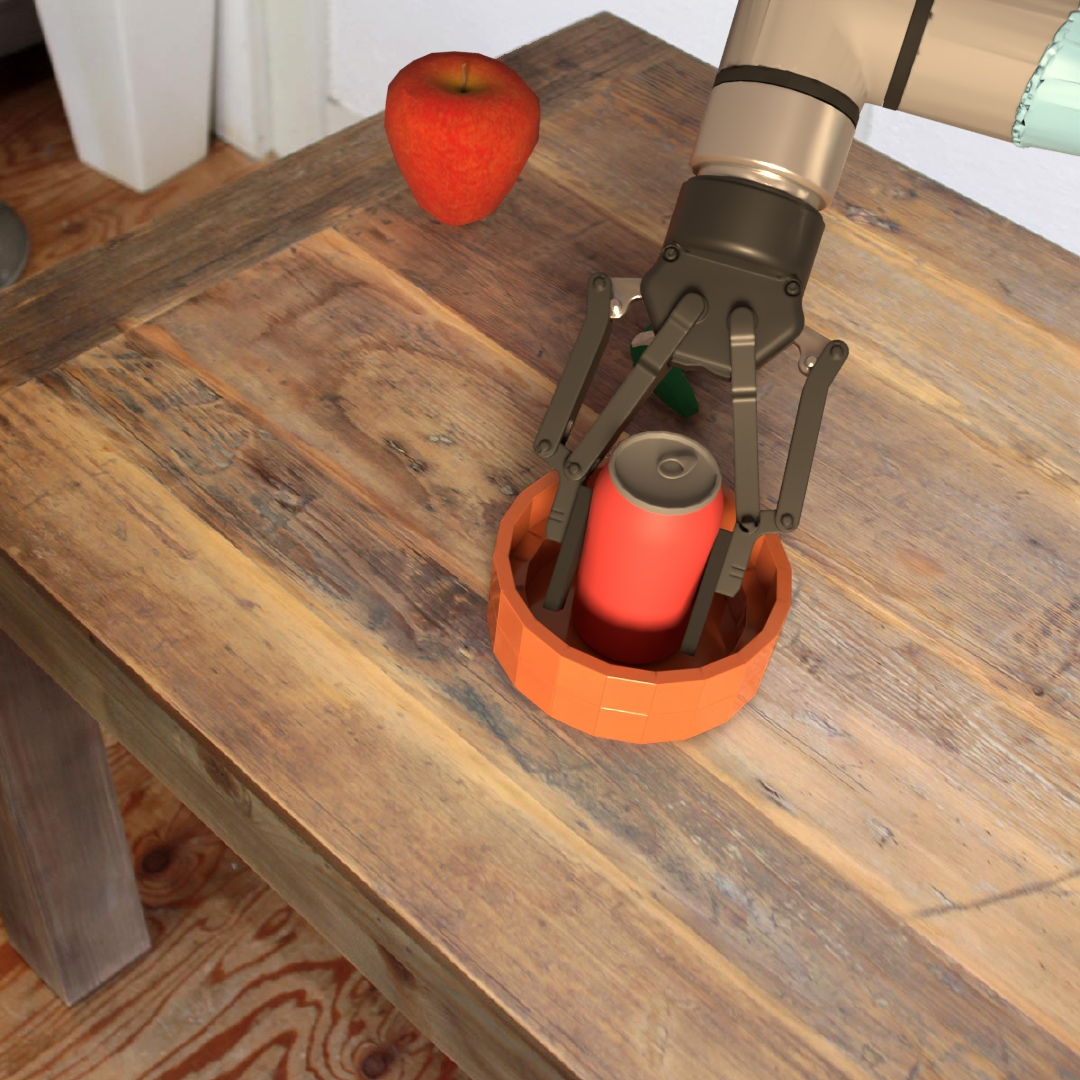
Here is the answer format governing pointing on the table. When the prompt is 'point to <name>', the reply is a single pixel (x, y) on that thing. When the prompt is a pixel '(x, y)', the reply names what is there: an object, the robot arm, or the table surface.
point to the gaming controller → (668, 380)
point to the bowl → (615, 687)
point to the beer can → (647, 546)
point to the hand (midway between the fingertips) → (620, 629)
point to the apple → (460, 132)
